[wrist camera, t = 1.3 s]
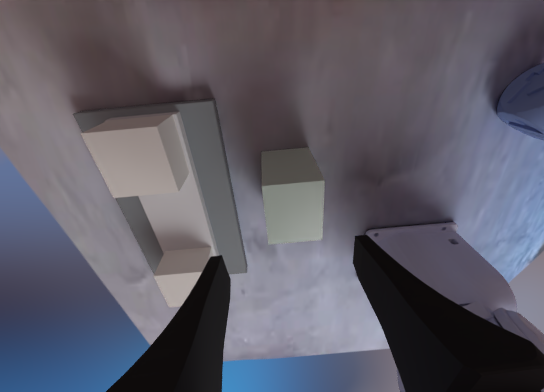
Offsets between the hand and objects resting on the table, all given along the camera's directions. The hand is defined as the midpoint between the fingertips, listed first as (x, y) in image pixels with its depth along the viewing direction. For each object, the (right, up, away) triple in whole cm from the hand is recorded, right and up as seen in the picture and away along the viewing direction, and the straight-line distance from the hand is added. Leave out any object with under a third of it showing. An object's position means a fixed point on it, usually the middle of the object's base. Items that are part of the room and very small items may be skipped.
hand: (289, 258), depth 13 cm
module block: (0, +5, +9) cm, 10 cm away
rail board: (-9, +3, +10) cm, 14 cm away
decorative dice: (+19, +11, +6) cm, 23 cm away
